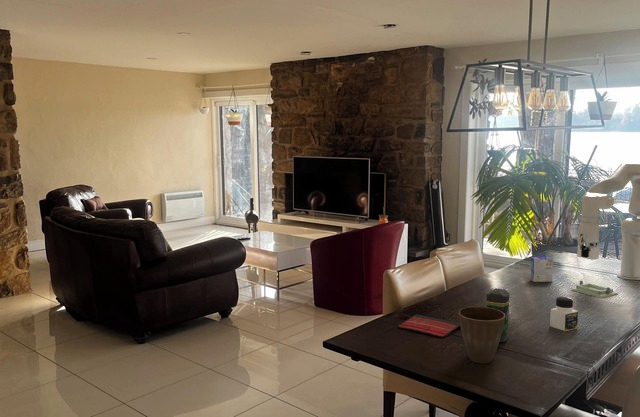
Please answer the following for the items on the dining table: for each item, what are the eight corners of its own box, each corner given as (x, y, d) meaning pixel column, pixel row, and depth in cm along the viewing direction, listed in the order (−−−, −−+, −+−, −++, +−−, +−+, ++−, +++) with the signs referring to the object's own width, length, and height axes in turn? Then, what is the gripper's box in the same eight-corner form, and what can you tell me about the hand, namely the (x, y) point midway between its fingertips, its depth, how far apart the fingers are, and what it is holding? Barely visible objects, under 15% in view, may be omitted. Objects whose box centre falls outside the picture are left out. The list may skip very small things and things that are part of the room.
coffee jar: (505, 344, 201) (506, 294, 198) (482, 341, 204) (484, 291, 202) (510, 336, 209) (511, 288, 207) (488, 333, 213) (489, 285, 211)
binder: (415, 313, 232) (462, 323, 219) (416, 318, 233) (462, 329, 219) (395, 324, 220) (443, 336, 207) (395, 330, 221) (443, 342, 207)
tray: (587, 286, 278) (588, 279, 277) (617, 294, 263) (618, 286, 263) (571, 290, 272) (571, 282, 272) (600, 298, 258) (601, 289, 258)
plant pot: (511, 367, 181) (512, 319, 179) (466, 369, 180) (467, 321, 178) (493, 350, 195) (494, 305, 194) (451, 352, 194) (452, 307, 192)
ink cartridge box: (548, 279, 293) (549, 252, 292) (552, 282, 288) (554, 254, 286) (529, 279, 294) (530, 252, 292) (533, 282, 288) (534, 254, 286)
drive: (582, 255, 280) (583, 244, 280) (598, 259, 272) (599, 247, 272) (577, 256, 279) (577, 244, 278) (592, 259, 270) (593, 247, 270)
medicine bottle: (565, 331, 214) (566, 301, 212) (549, 326, 220) (550, 296, 218) (577, 328, 217) (578, 298, 215) (562, 323, 223) (563, 294, 222)
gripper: (595, 218, 280) (593, 254, 282) (571, 220, 273) (569, 256, 275) (608, 219, 273) (606, 256, 275) (584, 222, 266) (582, 259, 268)
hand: (587, 256), depth 275 cm, fingers closed on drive, 4 cm apart
